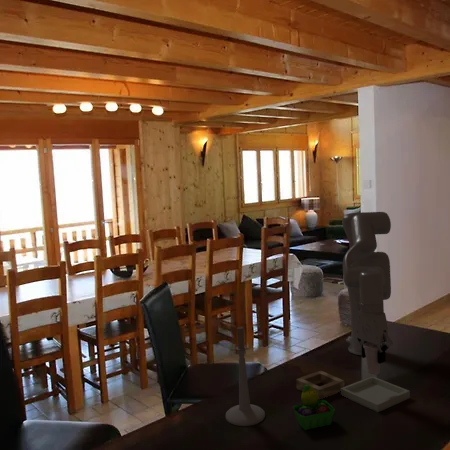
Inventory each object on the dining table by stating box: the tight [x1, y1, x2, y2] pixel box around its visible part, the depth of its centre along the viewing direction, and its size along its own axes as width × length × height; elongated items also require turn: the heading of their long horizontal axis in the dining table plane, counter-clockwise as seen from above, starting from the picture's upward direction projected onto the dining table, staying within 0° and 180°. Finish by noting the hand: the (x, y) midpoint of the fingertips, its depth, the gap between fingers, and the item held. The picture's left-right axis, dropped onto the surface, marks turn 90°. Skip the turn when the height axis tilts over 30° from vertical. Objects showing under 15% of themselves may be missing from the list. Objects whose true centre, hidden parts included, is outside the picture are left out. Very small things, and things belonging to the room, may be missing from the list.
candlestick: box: [225, 326, 266, 427], centre depth 159 cm, size 13×13×30 cm
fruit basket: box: [292, 384, 336, 431], centre depth 153 cm, size 11×9×11 cm
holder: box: [295, 370, 346, 401], centre depth 177 cm, size 12×12×4 cm
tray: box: [340, 375, 411, 413], centre depth 169 cm, size 16×16×2 cm
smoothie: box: [363, 342, 382, 376], centre depth 167 cm, size 6×6×14 cm
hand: (373, 359), depth 167 cm, fingers closed on smoothie, 6 cm apart
